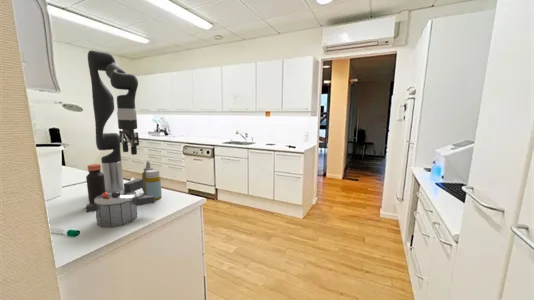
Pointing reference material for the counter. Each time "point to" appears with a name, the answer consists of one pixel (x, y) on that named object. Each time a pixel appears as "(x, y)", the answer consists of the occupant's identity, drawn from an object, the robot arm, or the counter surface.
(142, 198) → the pot
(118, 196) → the lid
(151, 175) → the bottle
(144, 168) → the squeeze bottle
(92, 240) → the counter surface
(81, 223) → the counter surface
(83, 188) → the counter surface
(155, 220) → the counter surface
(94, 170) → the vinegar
